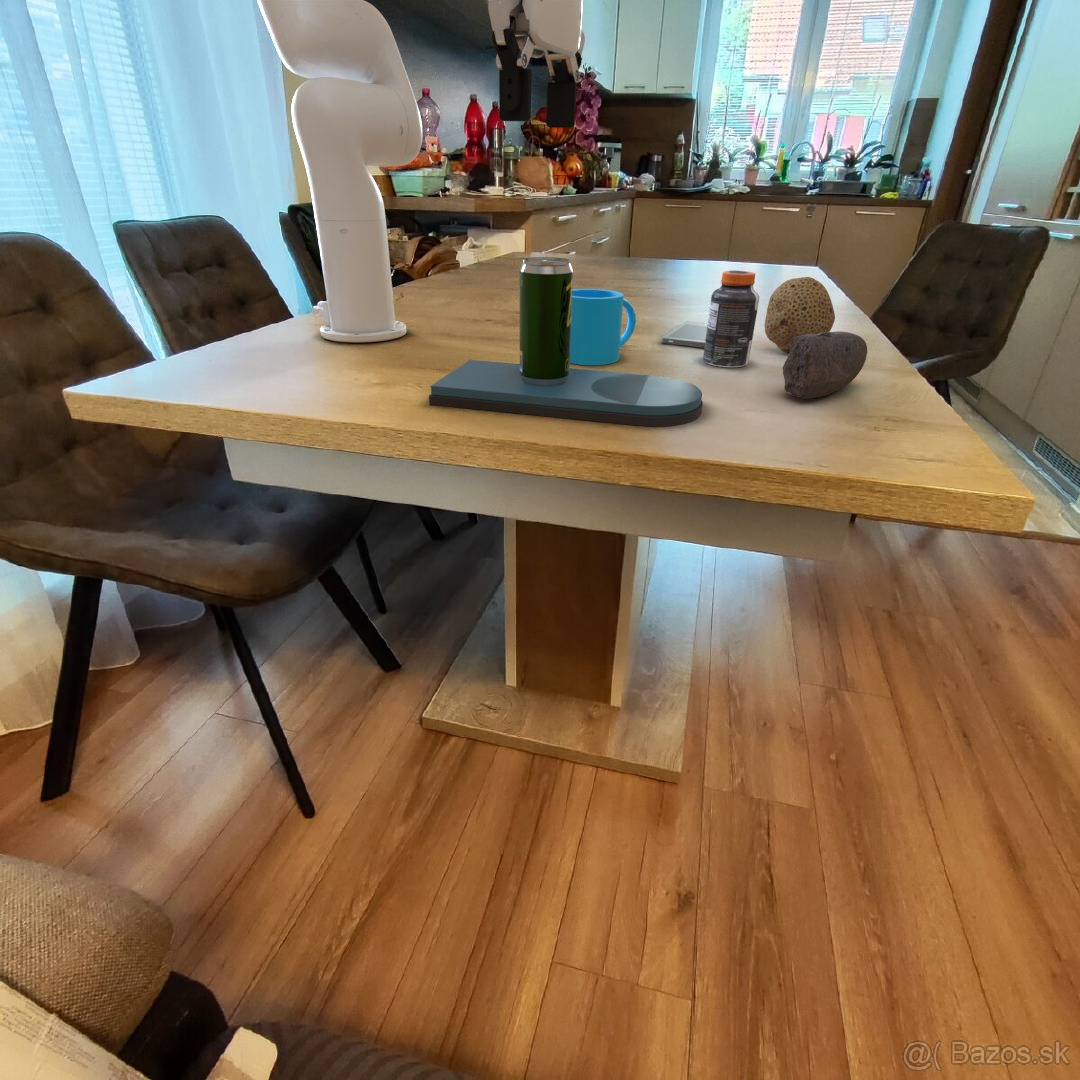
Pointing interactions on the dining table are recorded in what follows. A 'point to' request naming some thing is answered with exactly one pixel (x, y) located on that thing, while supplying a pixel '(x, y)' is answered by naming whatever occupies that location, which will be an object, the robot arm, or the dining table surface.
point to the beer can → (545, 320)
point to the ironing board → (571, 395)
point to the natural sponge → (798, 311)
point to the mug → (598, 326)
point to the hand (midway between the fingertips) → (538, 124)
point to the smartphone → (687, 334)
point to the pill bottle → (731, 320)
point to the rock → (823, 363)
